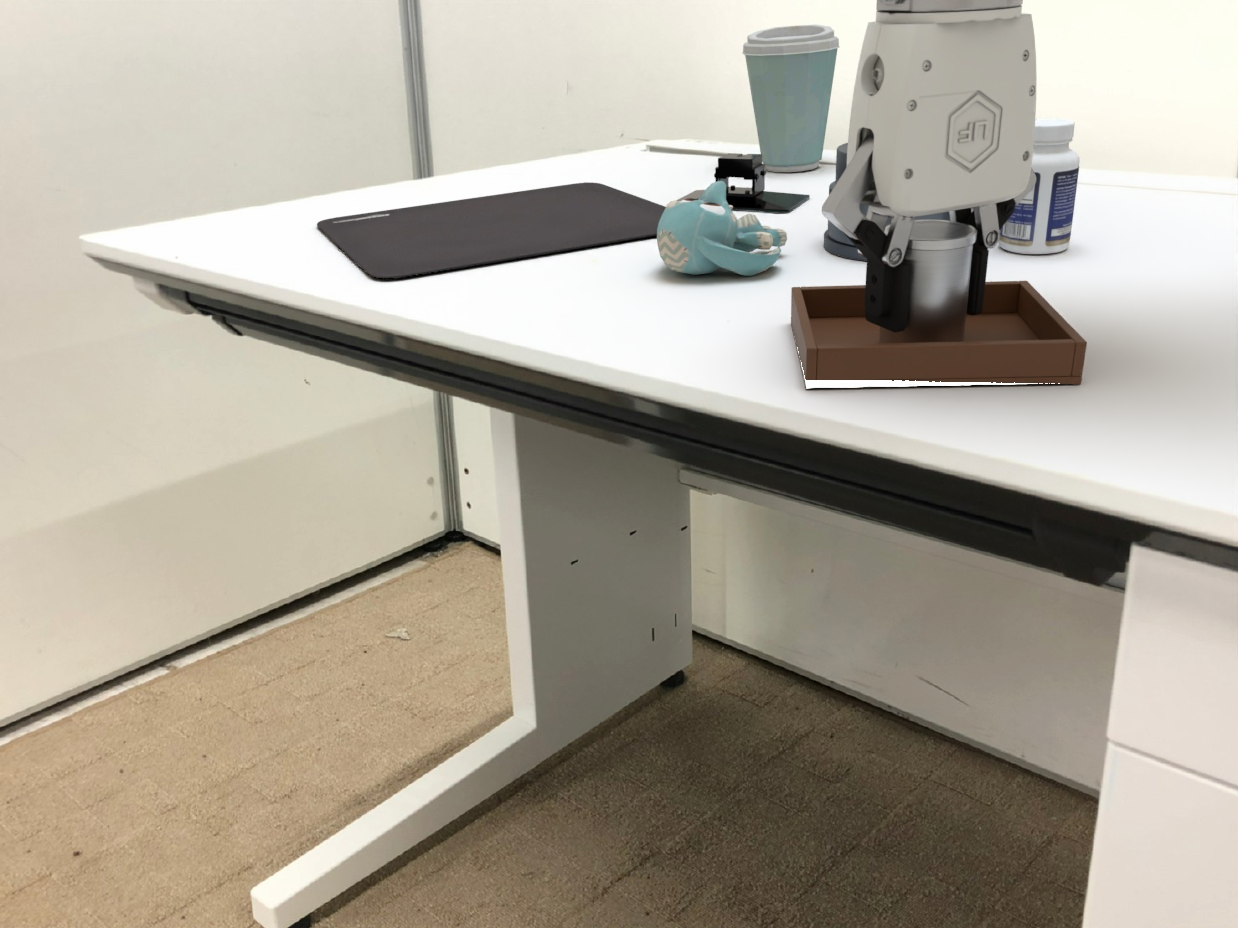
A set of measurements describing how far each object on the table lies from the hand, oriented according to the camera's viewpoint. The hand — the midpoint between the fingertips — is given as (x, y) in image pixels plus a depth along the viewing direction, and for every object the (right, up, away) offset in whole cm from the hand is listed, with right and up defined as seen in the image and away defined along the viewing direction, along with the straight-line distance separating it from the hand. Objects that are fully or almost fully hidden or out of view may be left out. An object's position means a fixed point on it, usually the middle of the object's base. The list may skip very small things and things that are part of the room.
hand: (923, 314), depth 64 cm
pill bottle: (+15, +8, +21) cm, 27 cm away
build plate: (-6, +17, +42) cm, 46 cm away
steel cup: (0, -2, +1) cm, 2 cm away
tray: (0, -2, +1) cm, 2 cm away
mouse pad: (-30, +14, +38) cm, 50 cm away
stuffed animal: (-10, +7, +21) cm, 24 cm away
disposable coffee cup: (+1, +25, +58) cm, 63 cm away
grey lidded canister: (+4, +9, +24) cm, 26 cm away
